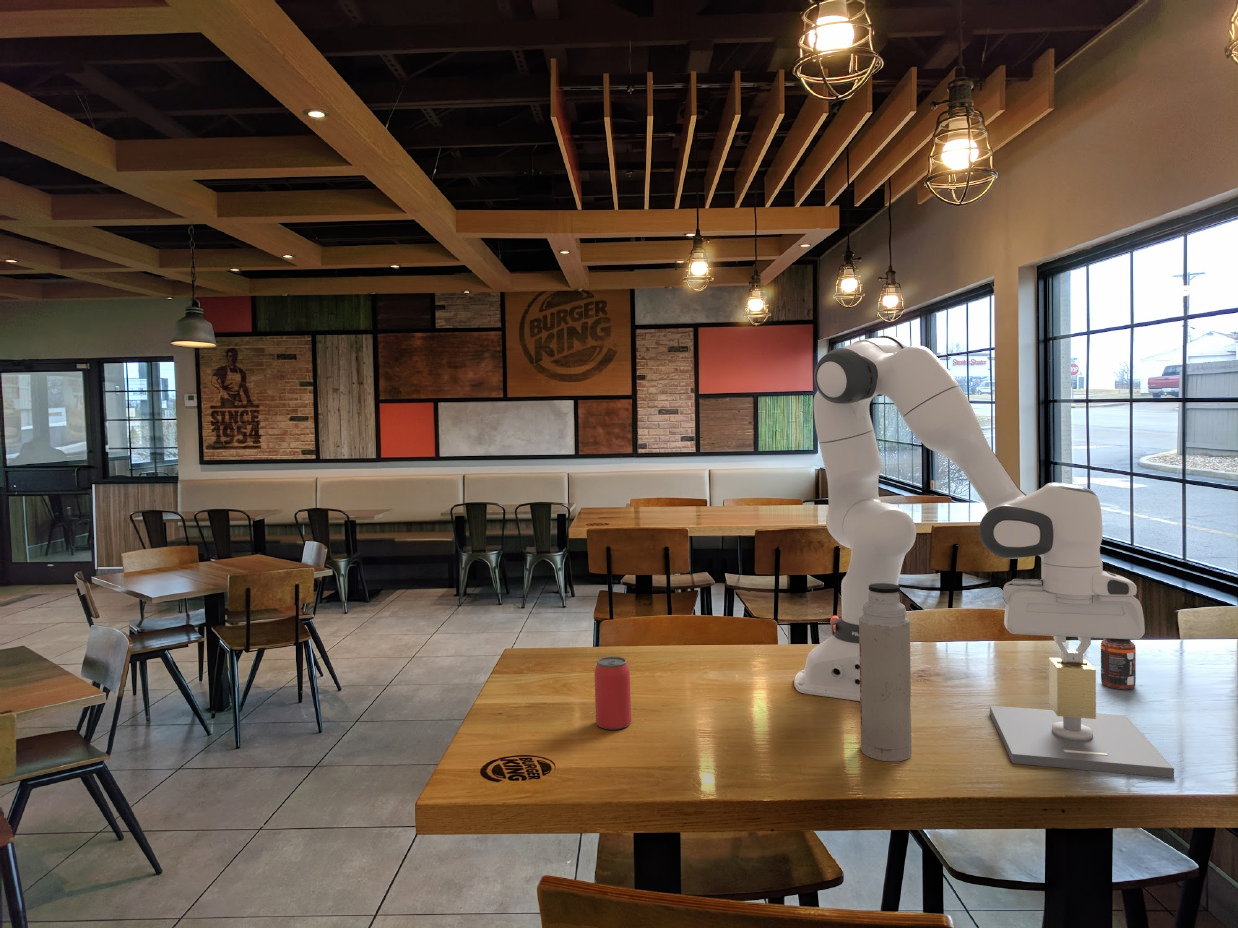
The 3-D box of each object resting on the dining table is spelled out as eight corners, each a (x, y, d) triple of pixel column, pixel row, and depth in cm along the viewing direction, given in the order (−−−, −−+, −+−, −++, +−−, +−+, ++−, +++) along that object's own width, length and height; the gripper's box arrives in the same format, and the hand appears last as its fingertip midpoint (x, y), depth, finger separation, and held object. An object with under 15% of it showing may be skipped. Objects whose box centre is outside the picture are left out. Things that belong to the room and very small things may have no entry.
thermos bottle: (853, 753, 127) (850, 586, 126) (871, 738, 133) (869, 578, 132) (901, 765, 122) (899, 591, 121) (918, 749, 128) (916, 583, 127)
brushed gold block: (1057, 716, 127) (1057, 666, 127) (1049, 704, 133) (1049, 656, 132) (1095, 718, 126) (1095, 668, 125) (1086, 706, 131) (1086, 658, 131)
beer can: (600, 733, 139) (598, 667, 139) (592, 720, 145) (590, 657, 145) (635, 728, 141) (633, 663, 140) (625, 715, 147) (623, 654, 147)
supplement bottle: (1141, 691, 153) (1141, 634, 152) (1108, 690, 154) (1108, 634, 153) (1127, 681, 158) (1127, 627, 158) (1095, 680, 160) (1095, 626, 159)
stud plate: (1012, 762, 122) (1011, 704, 122) (989, 713, 143) (989, 663, 143) (1174, 777, 116) (1174, 715, 115) (1125, 723, 137) (1125, 670, 136)
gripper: (1006, 582, 128) (1006, 663, 129) (1148, 585, 122) (1148, 671, 123) (999, 574, 134) (1000, 653, 135) (1134, 578, 128) (1135, 659, 129)
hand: (1072, 661), depth 129 cm, fingers closed
